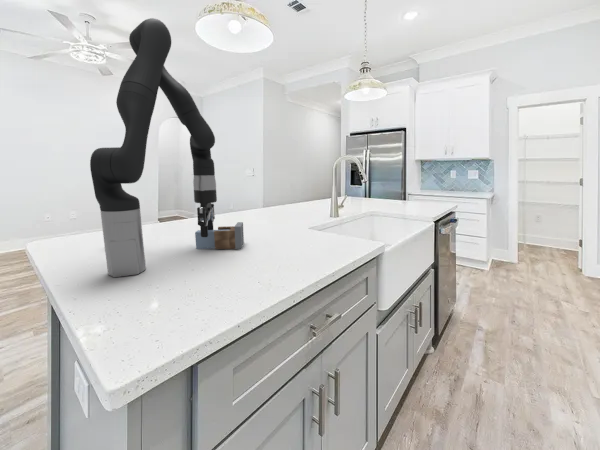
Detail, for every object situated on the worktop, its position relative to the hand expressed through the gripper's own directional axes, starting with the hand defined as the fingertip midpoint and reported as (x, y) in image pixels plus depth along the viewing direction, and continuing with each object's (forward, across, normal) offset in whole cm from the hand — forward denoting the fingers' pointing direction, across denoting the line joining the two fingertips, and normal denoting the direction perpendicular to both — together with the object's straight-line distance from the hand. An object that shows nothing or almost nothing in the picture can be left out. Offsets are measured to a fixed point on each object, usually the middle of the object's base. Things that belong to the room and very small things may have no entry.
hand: (207, 234), depth 112 cm
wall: (+5, -1, +11) cm, 12 cm away
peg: (+5, -1, +2) cm, 5 cm away
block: (+5, -1, +7) cm, 8 cm away
